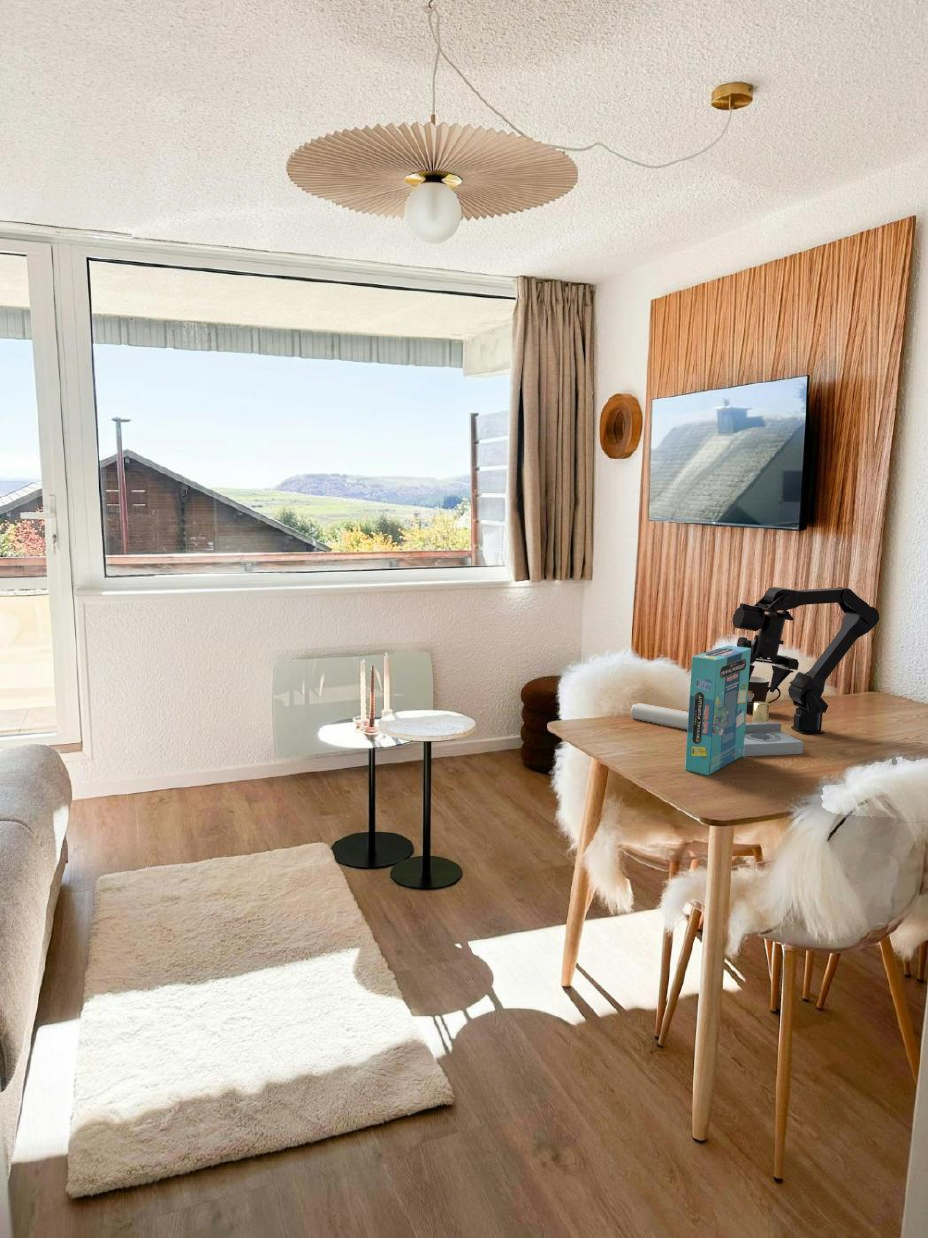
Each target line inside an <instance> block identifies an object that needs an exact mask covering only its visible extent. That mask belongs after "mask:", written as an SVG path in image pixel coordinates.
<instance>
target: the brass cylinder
mask: <svg viewBox="0 0 928 1238" xmlns="http://www.w3.org/2000/svg"><path fill="white" fill-rule="evenodd" d="M769 711H770V703H767V701H766V702H754V706H753V715H752V721H751V723H755V722H769V715H770V714H769V713H770V712H769Z"/></svg>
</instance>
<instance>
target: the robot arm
mask: <svg viewBox="0 0 928 1238" xmlns="http://www.w3.org/2000/svg"><path fill="white" fill-rule="evenodd" d="M820 604H822V605H823V604H838V606H839V608H840V610H841V611H842V612H843V613H844V616H843V617H842V620H841V628H840V630H839V631H838V632H837V634H836V635H835V636H834V638H833V639H832V640H831V642H830V643H829V644H828V646H827V647H826V648H825V649H824V651H822V654H820V656H819V658H818V659H817V660H816V662H815V663H814V664H813V665H812V667H811V668H810V669H809V670H808V671H806V672H804V673H803V672H802V671H798V670H799V665H800V663H799V660H798V659H797V658H794V657H791V656H788V655H781V654H779V649H780V645H784V643H785V641H784V640H782V636H783V632H784V626H785V623H786V621H794V617H793V616H792V615H791V613H790V611H789V610H793V609H796V608H799V607H801V606H805V605H820ZM880 619H881V618H880V613H879V611H878V609H877V608H875V607H874V606H870V604H868V602H866V601H865V600H863V598H861V597H860V596H858V595H857V594H856V593H855V592H854V591H853V590H852V589H851V588H847V587H843V586H838V587H832V588H831V587H830V588H829V587H828V588H816V589H814V588H813V589H792V588H787V587H786V588H784V587H780V586H779V587H776V586H771V587H769V588H768V589H767V590H766V591H765V593H764V594H763V596H762V597H761V598H760V599H759V600H758V601H756V603H755V604H754V605H750V604H747V603H744V602H741V603H740V604H739V607H738V608H737V609H736V610H735V611H734V613H733V615H732V625H733V627H734V628H735V629H737V630H738V629H739V630H745V631H751V632H757V631H759V633H758V634H755V635H754V638H753V639H752V640H749V639H748V638H747V637H745V636H744V637H743V636H739V637H738V638H737V642H736V646H737V647H745V648H751V655H750V667H749V680H750V678H751V676H753V672H754V669H755V667H756V665H753V664H754V663H756V662H758V663H764V664H771V669H772V675H771V676H772V677H771V681H770V684H769V687H770V690H769V692H770V693H774V692H775V691H777V687H778V688H779V686H780V685H781V684H782V682H783V681H784V680H785V679H786V678H787V677H789V675H790V674H791V673H794V670H795V671H798V672H797V673H796V674H795V676H794V678H793V679H792V680H791V681H790V682H789V684H790V685H789V687H788V689H787V691H788V696H789V698H790V699H791V700H792V703H793V706H795V713H793V724H792V725H791V726H790V728H791V729H793V730H795V731H797V732H799V733H801V734H804V735H810V734H811V735H813V734H814V735H815V734H816V735H817V734H825V733H826V731H825V730H823V729H822V725H823V714H825V713H826V712H827V711H828V708H829V704H828V703H827V702H826V701H825V700H824V699H823V698H822V695H823V694H824V692H825V688H826V687H825V685H826V681H827V679H828V678H829V677H830V675H831V674H832V673H833V672H834V670H835V669H836V667H837V666H838V665H839V663H841V661H842V660H843V658H844V657H845V655H846V654H847V653H848V652H849V650H850V649H851V648H852V646H853V645H854V644H855V643H856V641H857V640H858V639H860V638H861V637H863V636H864V635H866V634H869V632H871V631H872V630H873V629H874V628H875V627H876V626H877V625H878V623H879V622H880ZM748 683H749V681H748Z"/></svg>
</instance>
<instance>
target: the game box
mask: <svg viewBox="0 0 928 1238" xmlns="http://www.w3.org/2000/svg"><path fill="white" fill-rule="evenodd" d="M750 655H751V648H745V647H737V645H735V646H734V645H726V646H722V647H718V648H716V649H712V650H710V651H706V652H703V653H700V654H697V655H696V654H695V655H694V656H692V657H691V669H690V671H691V672H690V687H689V703H688V712H689V713H688V728H687V730H686V731H687V732H686V745H685V761H684V770H685V771H687V772H692V773H696V774H699V775H704V776H711V775H712V774H714V773H715V772H717V771H719V770H720V769H722V768H724V767H725V766H728V765H730V764H731V763H733V762H734V761H736V760H738V759H740V758H742V757H744V756H743V751H744V737H745V723H747V722H746V721H747V714H746V709H747V696H748V681H749V667H750Z"/></svg>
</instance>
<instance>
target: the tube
mask: <svg viewBox="0 0 928 1238" xmlns="http://www.w3.org/2000/svg"><path fill="white" fill-rule="evenodd" d="M688 713H689V711H684V710H680V709H673V708H668V707H663V706H657V705H652V704H647V703H642V702H638V703H636V704H635V703H634V704H632V706H631V710H630V712H629V714H630V716H631V718H632V719H633V718H634V719H633V720H635V719H639V720H638V721H640V720H643V721H642V722H644V721H648V722H647V723H649V722H652V723H651V724H654V723H657V724H656V725H659V724H662V725H661V726H663V725H666V726H665V727H668V726H673V727H678V728H681V729H680V730H683V729H686V730H685V731H687V728H688ZM673 727H672V728H673ZM678 728H677V729H678Z"/></svg>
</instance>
